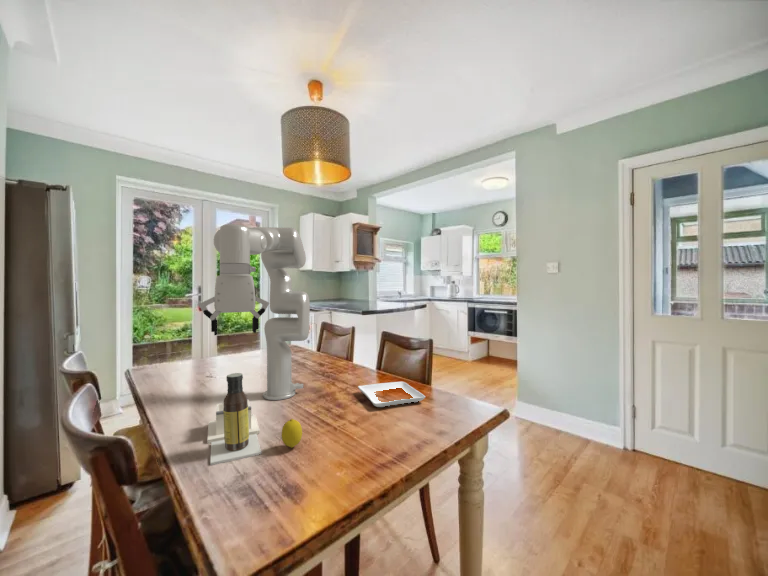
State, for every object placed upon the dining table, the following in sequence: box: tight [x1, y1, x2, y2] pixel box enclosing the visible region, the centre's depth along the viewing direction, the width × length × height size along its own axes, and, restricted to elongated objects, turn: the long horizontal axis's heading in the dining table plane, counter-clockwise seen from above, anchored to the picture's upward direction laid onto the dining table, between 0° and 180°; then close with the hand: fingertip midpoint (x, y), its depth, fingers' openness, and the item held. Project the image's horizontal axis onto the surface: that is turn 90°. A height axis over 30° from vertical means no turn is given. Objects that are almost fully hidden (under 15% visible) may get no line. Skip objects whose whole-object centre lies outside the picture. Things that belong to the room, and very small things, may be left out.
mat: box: [209, 434, 262, 466], centre depth 91 cm, size 12×12×1 cm
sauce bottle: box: [223, 372, 249, 451], centre depth 91 cm, size 6×6×20 cm
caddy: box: [206, 399, 261, 444], centre depth 103 cm, size 14×14×8 cm
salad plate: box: [357, 381, 426, 408], centre depth 131 cm, size 21×21×3 cm
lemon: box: [281, 418, 303, 449], centre depth 91 cm, size 6×6×8 cm
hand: (235, 333), depth 90 cm, fingers open, 9 cm apart
